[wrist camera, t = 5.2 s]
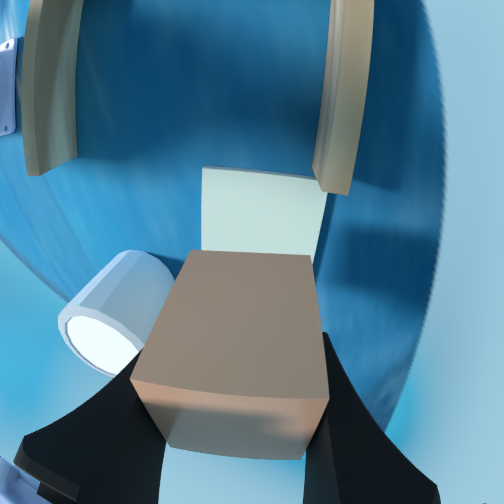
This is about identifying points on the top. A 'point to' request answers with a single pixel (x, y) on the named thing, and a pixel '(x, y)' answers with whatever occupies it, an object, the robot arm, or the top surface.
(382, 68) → the top surface
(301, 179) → the rubber mat
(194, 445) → the terracotta block
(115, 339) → the white cup
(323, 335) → the robot arm
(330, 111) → the birch pen
